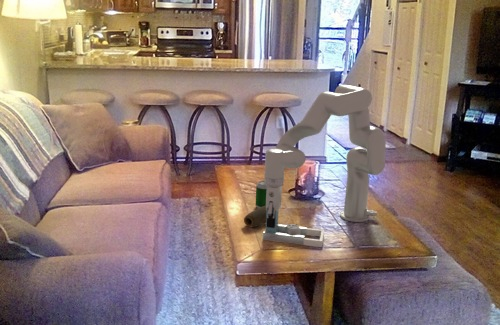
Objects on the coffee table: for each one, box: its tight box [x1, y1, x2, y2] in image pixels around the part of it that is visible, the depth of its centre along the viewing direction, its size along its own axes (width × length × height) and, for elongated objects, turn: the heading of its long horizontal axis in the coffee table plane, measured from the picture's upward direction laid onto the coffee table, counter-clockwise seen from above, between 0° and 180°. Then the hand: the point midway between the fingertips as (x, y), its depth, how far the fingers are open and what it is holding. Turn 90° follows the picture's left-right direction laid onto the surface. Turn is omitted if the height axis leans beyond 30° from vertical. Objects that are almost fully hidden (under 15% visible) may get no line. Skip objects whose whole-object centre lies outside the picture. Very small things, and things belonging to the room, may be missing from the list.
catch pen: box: [303, 227, 325, 248], centre depth 199 cm, size 7×11×2 cm, turn 168°
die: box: [284, 223, 301, 235], centre depth 200 cm, size 5×5×5 cm
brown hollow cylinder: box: [243, 205, 266, 228], centre depth 213 cm, size 15×7×7 cm, turn 146°
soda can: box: [255, 180, 267, 209], centre depth 230 cm, size 8×8×12 cm
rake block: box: [265, 208, 280, 233], centre depth 200 cm, size 4×6×12 cm, turn 168°
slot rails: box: [262, 223, 308, 246], centre depth 201 cm, size 16×10×3 cm, turn 78°
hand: (272, 223), depth 201 cm, fingers closed on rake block, 6 cm apart
